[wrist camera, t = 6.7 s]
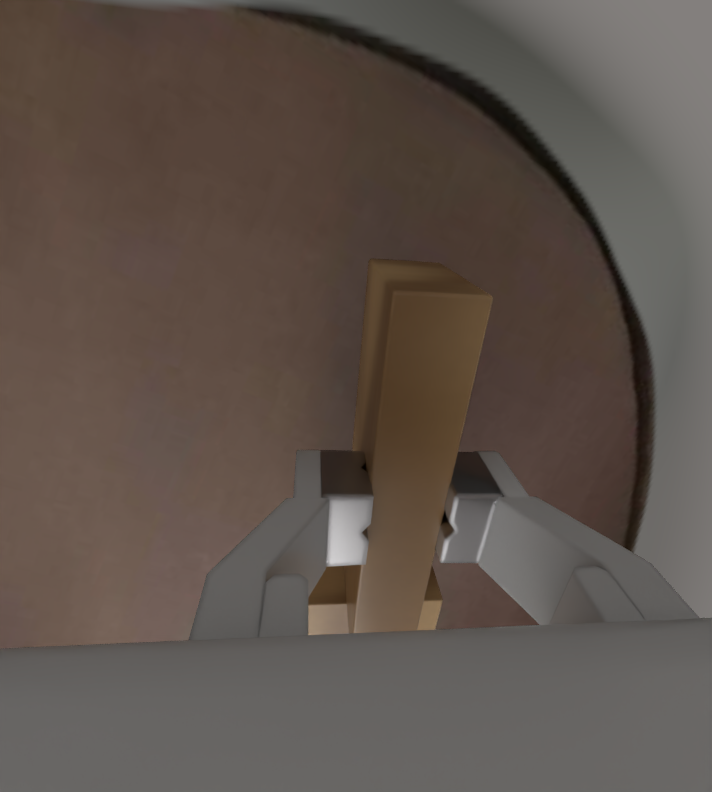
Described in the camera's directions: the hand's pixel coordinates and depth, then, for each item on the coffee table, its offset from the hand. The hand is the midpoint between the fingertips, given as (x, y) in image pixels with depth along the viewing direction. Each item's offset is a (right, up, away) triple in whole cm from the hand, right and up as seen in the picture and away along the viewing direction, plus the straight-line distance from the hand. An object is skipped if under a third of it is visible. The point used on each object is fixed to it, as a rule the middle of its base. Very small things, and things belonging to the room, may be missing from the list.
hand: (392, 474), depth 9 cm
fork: (0, -3, +3) cm, 5 cm away
